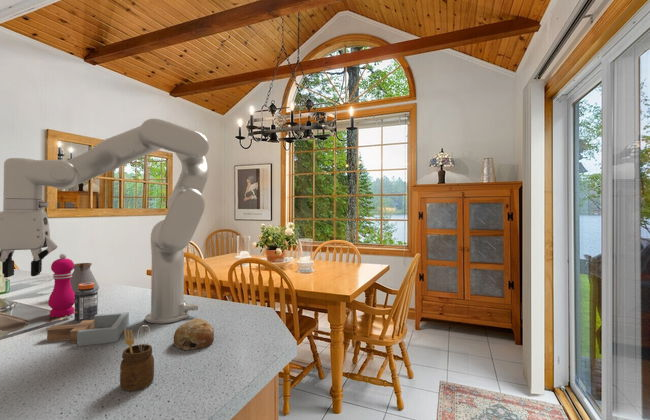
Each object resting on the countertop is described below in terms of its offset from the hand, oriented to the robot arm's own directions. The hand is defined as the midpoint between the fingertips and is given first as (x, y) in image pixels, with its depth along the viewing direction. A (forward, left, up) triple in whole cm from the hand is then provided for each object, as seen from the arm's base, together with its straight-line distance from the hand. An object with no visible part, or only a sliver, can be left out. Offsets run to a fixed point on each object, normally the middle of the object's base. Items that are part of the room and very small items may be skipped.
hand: (22, 275), depth 86 cm
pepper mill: (0, -24, -18) cm, 30 cm away
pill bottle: (-9, -16, -18) cm, 26 cm away
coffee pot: (0, -44, -18) cm, 48 cm away
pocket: (-19, 0, -17) cm, 26 cm away
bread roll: (-42, +14, -18) cm, 48 cm away
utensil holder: (-32, +33, -18) cm, 50 cm away
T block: (-10, 0, -17) cm, 20 cm away
